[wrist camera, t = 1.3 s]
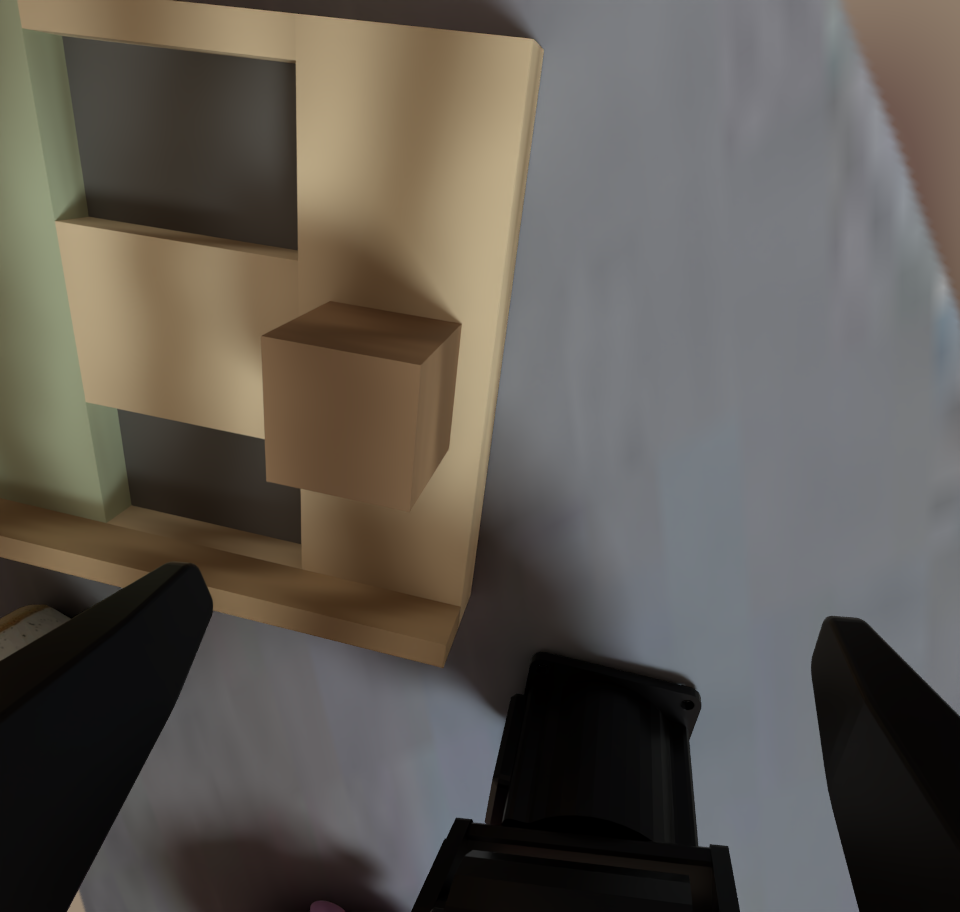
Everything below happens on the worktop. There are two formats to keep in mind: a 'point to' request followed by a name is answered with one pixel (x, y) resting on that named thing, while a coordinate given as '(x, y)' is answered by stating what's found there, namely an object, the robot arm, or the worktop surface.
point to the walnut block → (359, 402)
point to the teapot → (325, 907)
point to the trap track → (245, 291)
